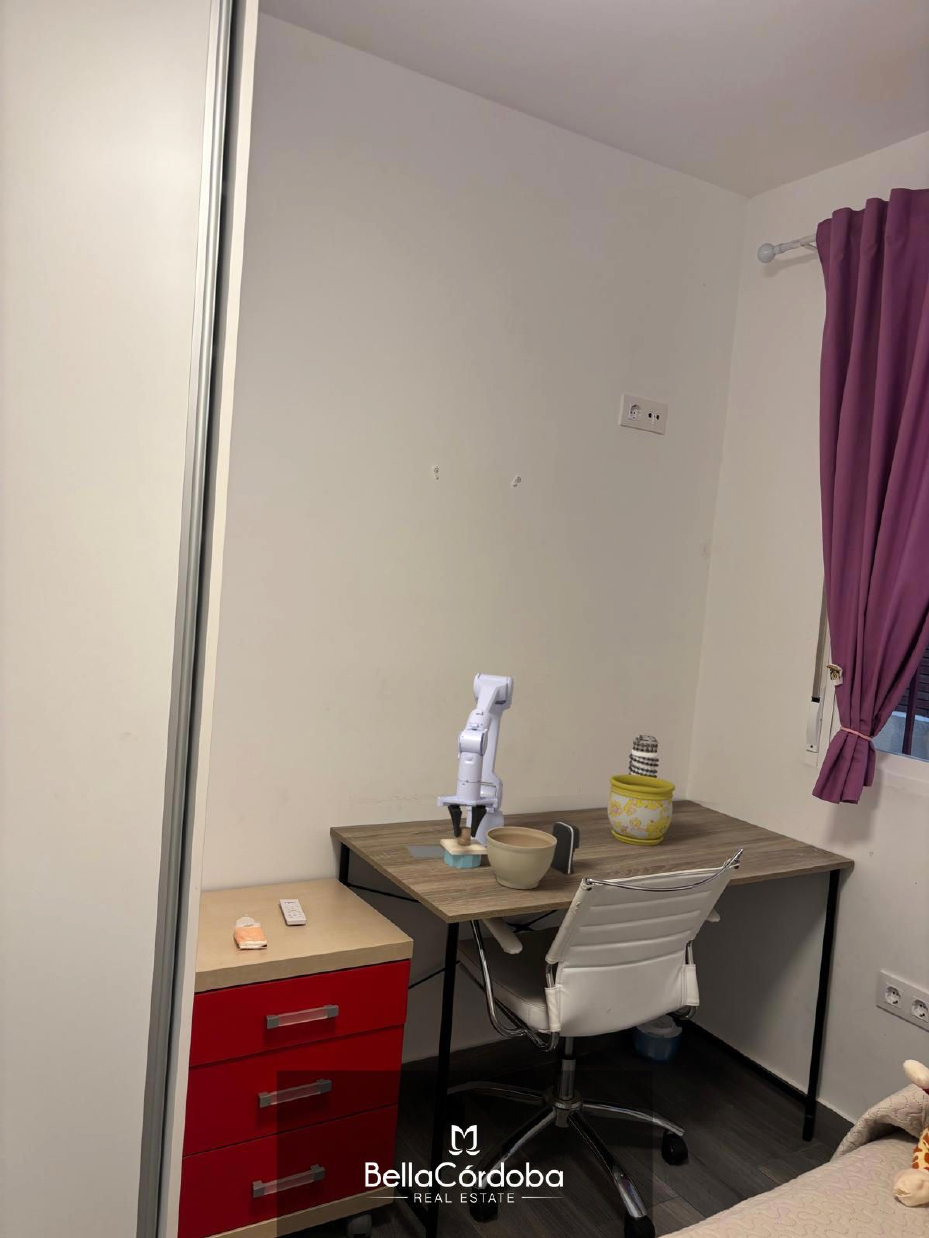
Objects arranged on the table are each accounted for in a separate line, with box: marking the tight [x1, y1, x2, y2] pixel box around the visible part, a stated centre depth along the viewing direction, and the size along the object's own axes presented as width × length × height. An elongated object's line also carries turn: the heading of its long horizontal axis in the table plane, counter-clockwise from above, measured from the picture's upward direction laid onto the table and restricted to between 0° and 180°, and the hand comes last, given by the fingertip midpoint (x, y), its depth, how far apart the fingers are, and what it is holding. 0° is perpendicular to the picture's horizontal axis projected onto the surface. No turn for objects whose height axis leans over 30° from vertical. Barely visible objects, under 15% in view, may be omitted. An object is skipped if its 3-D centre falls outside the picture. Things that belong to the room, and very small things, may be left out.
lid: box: [439, 825, 487, 855], centre depth 224 cm, size 9×9×5 cm
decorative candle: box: [627, 734, 660, 778], centre depth 289 cm, size 9×9×25 cm
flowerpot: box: [607, 774, 676, 847], centre depth 262 cm, size 18×18×16 cm
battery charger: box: [549, 821, 581, 875], centre depth 227 cm, size 7×4×11 cm, turn 32°
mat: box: [405, 845, 445, 858], centre depth 231 cm, size 9×9×1 cm
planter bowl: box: [486, 826, 557, 890], centre depth 214 cm, size 16×16×11 cm
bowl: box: [443, 847, 482, 870], centre depth 224 cm, size 8×8×4 cm
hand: (464, 836), depth 224 cm, fingers open, 3 cm apart
